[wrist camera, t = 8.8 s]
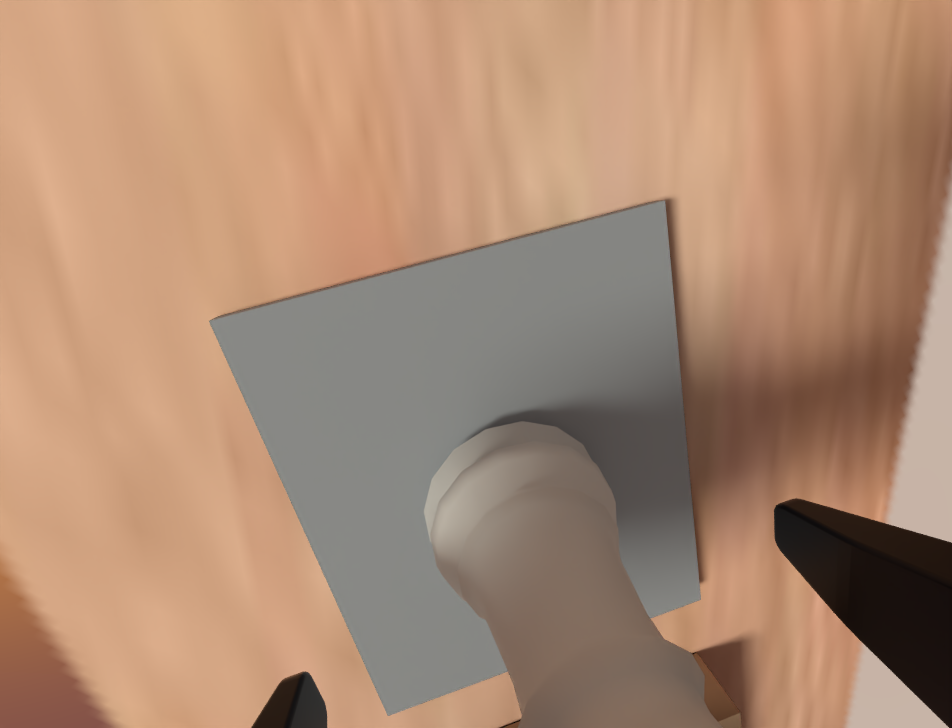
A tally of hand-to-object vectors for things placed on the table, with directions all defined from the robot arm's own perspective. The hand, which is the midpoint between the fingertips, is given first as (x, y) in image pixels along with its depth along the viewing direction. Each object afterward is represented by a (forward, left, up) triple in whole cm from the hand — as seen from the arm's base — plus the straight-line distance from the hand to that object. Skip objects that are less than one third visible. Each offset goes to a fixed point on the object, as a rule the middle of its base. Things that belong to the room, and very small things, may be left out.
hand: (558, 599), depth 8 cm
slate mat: (0, 0, -4) cm, 4 cm away
